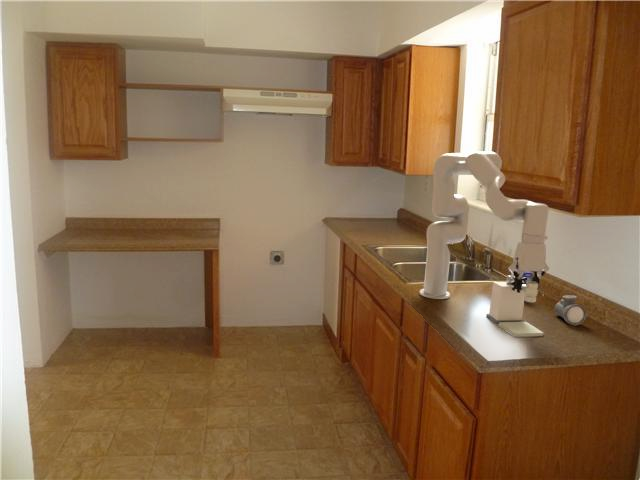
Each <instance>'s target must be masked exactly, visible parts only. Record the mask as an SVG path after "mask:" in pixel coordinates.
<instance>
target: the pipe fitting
mask: <svg viewBox="0 0 640 480" xmlns="http://www.w3.org/2000/svg"><path fill="white" fill-rule="evenodd" d="M577 300H578V295H577V296H576V295H572V294H567V295H563V296H562V299H560V301H559V302H557V303H556V304H555V305H554V307H553V308H554V310H553V311H554V313H555V314H556V315H557V316H559V317H560V318H563V320H565V322H566V323H568V325H571V326H573V327H575V326H580V325H582V324H583V323H584V322H585V320H586V318H587V311H586V309H585V307H584V306H582V305H581V304H578V303H577Z"/></svg>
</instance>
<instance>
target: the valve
mask: <svg viewBox="0 0 640 480" xmlns="http://www.w3.org/2000/svg"><path fill="white" fill-rule="evenodd" d="M521 279H522V280H523V282H524V283H522V287H521V290H523V292H525V297H524V302H527V303H536V301H537V295H538V294H539V293H538V292H539V287H538V283H537V282H533V281H532V280H531V281H528V282H526V281H525V280H527V278H526V277H524V278H521ZM513 280H514V282H511V283H510V284H511V285H512V286H513V287H512V290H513V291H515V286H514V284H515V277H513ZM537 288H538V290H537ZM517 292H518V293H520V290H517Z"/></svg>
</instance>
